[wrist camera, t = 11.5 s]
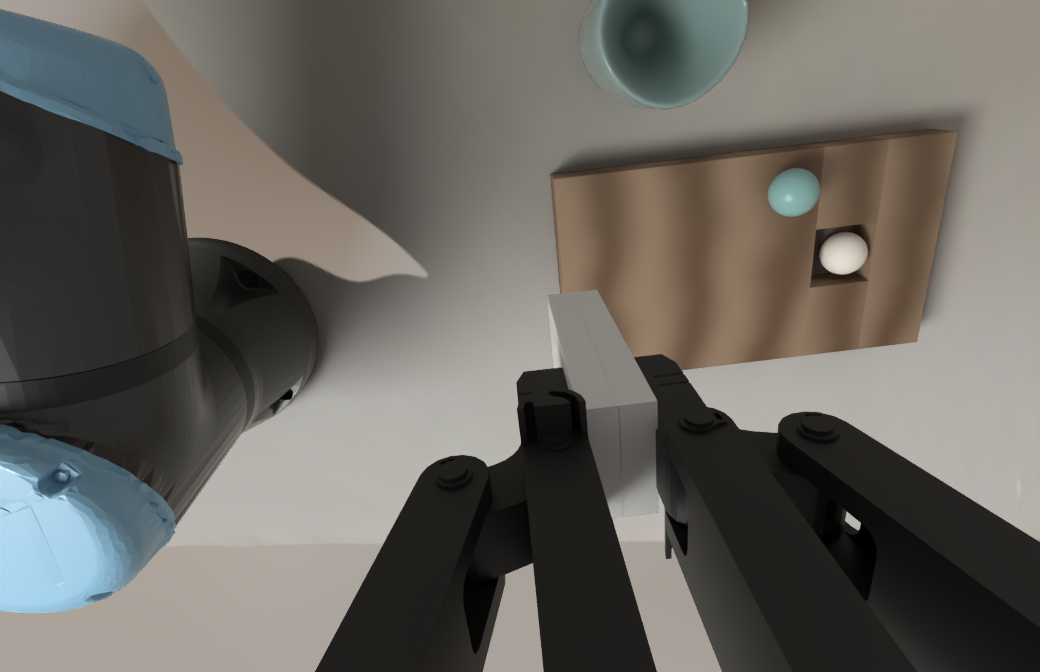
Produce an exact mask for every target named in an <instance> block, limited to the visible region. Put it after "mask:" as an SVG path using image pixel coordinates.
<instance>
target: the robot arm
mask: <svg viewBox="0 0 1040 672" xmlns="http://www.w3.org/2000/svg"><path fill="white" fill-rule="evenodd" d="M182 164H183V160H182V156H181V154H180V153H179V151H177V150H176V147H175V141H174V135H173V130H172V124H171V117H170V112H169V106H168V100H167V94H166V90H165V87H164V84H163V81H162V79H161V77H160V75H159V74H158V72H157V71H156V70H155V68H154V67H153V66H152V65H151V64H150V63H149V62H148V61H147V60H146V59H145V58H144V57H142V56H141V55H140V54H138V53H137V52H135V51H134V50H132V49H130V48H129V47H126V46H124V45H122V44H120V43H117V42H114V41H111V40H108V39H105V38H102V37H99V36H96V35H93V34H89V33H86V32H83V31H80V30H76V29H73V28H69V27H65V26H62V25H58V24H55V23H51V22H47V21H44V20H40V19H36V18H33V17H29V16H25V15H21V14H18V13H13V12H10V11H6V10H2V9H0V611H7V612H18V613H51V612H60V611H67V610H72V609H76V608H81V607H85V606H88V605H90V604H93V603H96V602H99V601H101V600H103V599H106V598H107V597H109V596H111V595H112V594H113V593H114V592H116V591H118V590H120V589H121V588H122V587H124V586H126V585H127V584H128V583H129V582H131V581H132V580H133V579H134V578H135V577H136V576H137V574H138V573H139V572H140V571H141V570H142V569H143V567H144V566H145V565H146V564H147V563H148V562H149V561H150V560H151V559H152V557H153V556H154V555H155V554H156V553H157V552H158V551H159V550H160V549H162V548H163V547H164V546H165V545H166V544H167V543H168V542H169V541H170V539H171V537H172V535H173V534H174V533H175V531H174V529H175V528H176V525H177V524H178V522H179V521H180V520H181V518H182V517H183V515H184V514H185V513H186V511H187V510H188V508H189V507H190V506H191V504H192V503H193V501H194V500H195V498H196V497H197V496H198V494H199V493H200V491H201V490H202V489H203V487H204V486H205V484H206V483H207V482H208V480H209V479H210V477H211V476H212V475H213V473H214V472H215V470H216V469H217V467H218V466H219V465H220V463H221V462H222V460H223V459H224V458H225V456H226V455H227V453H228V452H229V451H230V449H231V448H232V446H233V445H234V444H235V442H236V441H237V439H238V438H239V436H240V435H241V434H242V433H243V432H245V431H247V430H249V429H251V428H253V427H255V426H257V425H258V424H260V423H262V422H264V421H266V420H268V419H270V418H271V417H273V416H275V415H276V414H278V413H279V412H281V411H282V410H283V409H285V408H286V407H287V406H288V405H289V404H290V403H291V402H292V401H293V400H294V399H295V398H296V397H297V395H298V394H299V392H300V391H301V389H302V388H303V386H304V385H305V383H306V381H307V380H308V378H309V377H310V375H311V373H312V370H313V368H314V365H315V362H316V358H317V351H318V334H317V327H316V323H315V319H314V316H313V313H312V311H311V308H310V306H309V304H308V302H307V300H306V299H305V297H304V295H303V294H302V292H301V291H300V289H299V288H298V287H297V285H296V284H295V283H294V282H293V281H292V280H291V278H290V277H289V276H288V275H287V274H286V273H285V272H284V271H282V270H281V269H280V268H279V267H278V266H276V265H275V264H274V263H272V262H271V261H270V260H268V259H267V258H265V257H263V256H262V255H260V254H258V253H256V252H254V251H252V250H250V249H248V248H246V247H243V246H241V245H238V244H235V243H231V242H228V241H223V240H218V239H211V238H187V230H186V221H185V213H184V203H183V194H182V186H181V177H180V167H179V165H182ZM547 301H548V312H549V322H550V333H551V344H552V354H553V365H554V368H552V369H544V370H536V371H527V372H523V374H522V375H521V377H520V378H519V380H518V381H517V393H518V408H517V413H518V420H519V428H520V436H521V445H520V447H519V449H518V450H517V451H516V452H515V453H514V454H513V455H512V456H511V457H509V458H508V459H506V460H505V461H502V462H500V463H498V464H496V465H493V466H490V467H487V466H486V464H485V463H484V461H482V460H480V459H478V458H476V457H472V456H466V455H459V456H450V457H447V458H444V459H441V460H438V461H436V462H435V463H433V464H431V465H430V466H428V467H427V468H426V469H425V470H424V472H423V473H422V474H421V475H420V477H419V479H418V481H417V482H416V484H415V486H414V488H413V490H412V492H411V494H410V496H409V497H408V499H407V501H406V503H405V505H404V507H403V509H402V510H401V512H400V514H399V516H398V518H397V520H396V522H395V524H394V525H393V527H392V529H391V531H390V533H389V535H388V537H387V538H386V540H385V542H384V544H383V546H382V548H381V550H380V552H379V553H378V555H377V557H376V559H375V561H374V563H373V565H372V566H371V568H370V570H369V572H368V574H367V576H366V578H365V580H364V581H363V583H362V585H361V587H360V589H359V591H358V593H357V595H356V596H355V598H354V600H353V602H352V604H351V606H350V607H349V609H348V611H347V613H346V615H345V617H344V619H343V621H342V622H341V624H340V626H339V628H338V630H337V632H336V634H335V635H334V637H333V639H332V641H331V643H330V645H329V647H328V649H327V650H326V652H325V654H324V656H323V658H322V660H321V662H320V663H319V665H318V667H317V669H316V671H315V672H483V668H484V664H485V660H486V656H487V652H488V648H489V644H490V640H491V636H492V632H493V629H494V625H495V621H496V617H497V613H498V609H499V605H500V601H501V597H502V593H503V590H504V586H505V574H507V573H510V572H512V571H514V570H517V569H519V568H522V567H524V566H527V565H529V564H531V563H533V566H534V576H535V586H536V596H537V606H538V617H539V627H540V636H541V648H542V658H543V667H544V672H657V671H656V668H655V664H654V661H653V657H652V654H651V651H650V647H649V644H648V640H647V637H646V633H645V630H644V626H643V623H642V620H641V616H640V613H639V610H638V606H637V602H636V599H635V596H634V592H633V589H632V586H631V582H630V579H629V575H628V572H627V568H626V565H625V561H624V558H623V555H622V551H621V548H620V544H619V541H618V537H617V534H616V531H615V527H614V524H613V520H612V518H619V517H628V516H636V515H644V514H653V513H659V499H658V493H659V495H660V497H661V500H662V502H663V504H664V507H665V555H666V559H670V558H671V549H672V547H673V549H674V552H675V555H676V557H677V559H678V562H679V565H680V567H681V570H682V572H683V574H684V577H685V580H686V582H687V585H688V587H689V590H690V592H691V595H692V597H693V599H694V602H695V604H696V607H697V610H698V612H699V615H700V617H701V619H702V622H703V624H704V627H705V629H706V632H707V635H708V637H709V640H710V642H711V645H712V647H713V650H714V652H715V655H716V657H717V660H718V662H719V665H720V667H721V670H722V672H1040V542H1039V541H1037V540H1035V539H1034V538H1032V537H1031V536H1029V535H1027V534H1026V533H1024V532H1023V531H1021V530H1019V529H1018V528H1016V527H1015V526H1013V525H1011V524H1010V523H1008V522H1006V521H1005V520H1003V519H1002V518H1000V517H998V516H997V515H995V514H994V513H992V512H990V511H989V510H987V509H986V508H984V507H982V506H981V505H979V504H978V503H976V502H974V501H973V500H971V499H969V498H968V497H966V496H965V495H963V494H961V493H960V492H958V491H957V490H955V489H953V488H952V487H950V486H949V485H947V484H945V483H944V482H942V481H941V480H939V479H937V478H936V477H934V476H932V475H931V474H929V473H928V472H926V471H924V470H923V469H921V468H920V467H918V466H916V465H915V464H913V463H912V462H910V461H908V460H907V459H905V458H904V457H902V456H900V455H899V454H897V453H895V452H894V451H892V450H891V449H889V448H887V447H886V446H884V445H883V444H881V443H879V442H878V441H876V440H875V439H873V438H871V437H870V436H868V435H867V434H865V433H863V432H862V431H860V430H858V429H857V428H855V427H854V426H852V425H850V424H849V423H847V422H845V421H843V420H841V419H839V418H837V417H834V416H831V415H827V414H823V413H819V412H800V413H793V414H790V415H788V416H786V417H784V418H782V420H781V421H780V423H779V424H778V433H768V432H754V431H747V430H741V429H739V428H738V427H737V426H736V424H735V423H734V421H733V420H732V419H731V418H730V417H729V416H728V415H726V414H725V413H724V412H721V411H719V410H716V409H714V408H709V407H706V405H705V404H704V402H703V401H702V399H701V398H700V396H699V395H698V394H697V392H696V391H695V389H694V388H693V386H692V385H691V383H689V381H688V379H687V378H686V376H685V375H684V374H683V372H682V370H681V369H680V367H679V366H678V365H677V363H676V362H675V361H673V360H671V359H669V358H668V357H666V356H664V355H662V354H657V355H649V356H640V357H633V355H632V353H631V351H630V350H629V348H628V346H627V344H626V342H625V340H624V339H623V337H622V335H621V333H620V331H619V329H618V327H617V326H616V324H615V322H614V320H613V318H612V316H611V315H610V313H609V311H608V309H607V307H606V305H605V304H604V302H603V300H602V298H601V296H600V294H599V293H598V291H597V290H589V291H581V292H573V293H564V294H556V295H548V296H547ZM846 511H847V512H848V513H850V514H851V515H852V516H853V517H855V518H856V519H857V520H858V521H860V522H861V526H860V530H859V531H858V530H856V529H855V528H853V527H852V526H850V525H849V524H848V523H847V522H845V517H846Z"/></svg>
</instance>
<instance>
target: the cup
mask: <svg viewBox="0 0 1040 672" xmlns="http://www.w3.org/2000/svg"><path fill="white" fill-rule="evenodd" d="M748 22H749V5H748V0H591V1H590V4H589V6H588V8H587V10H586V12H585V14H584V17H583V21H582V24H581V28H580V38H579V45H580V53H581V57H582V60H583V63H584V66H585V68H586V69H587V71H588V73H589V75H590V77H591V78H592V79H593V80H594V82H595V83H596V84H597V85H598V86H599V87H600V88H601V89H602V90H603V91H604V92H605V93H607V94H608V95H609V96H611V97H613V98H614V99H616V100H618V101H620V102H622V103H625V104H628V105H631V106H634V107H639V108H646V109H660V110H667V109H672V108H677V107H682V106H684V105H687V104H689V103H691V102H693V101H696V100H697V99H698V98H700V97H701V96H703V95H704V94H706V93H707V92H709V91H710V90H711V89H712V88H713V87H714V86H715V85H716V84H717V83H718V82H720V81H721V79H722V78H723V77H724V76H725V74H726V73H727V72H728V71H729V69H730V68H731V67H732V65H733V63H734V62H735V60H736V58H737V56H738V55H739V53H740V51H741V48H742V45H743V43H744V40H745V38H746V33H747V28H748Z"/></svg>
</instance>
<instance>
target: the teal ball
mask: <svg viewBox="0 0 1040 672" xmlns="http://www.w3.org/2000/svg"><path fill="white" fill-rule="evenodd" d="M819 195H820V184H819V181H818V179H817V178H816V176H815V175H814V174H813V173H811V172H810V171H808V170H805V169H802V168H792V169H788V170H785V171H783V172H781V173H780V174H778V175H777V176H776V177H775V178H774V179H773V181H772V182H771V184H770V186H769V190H768V200H769V203H770V205H771V207H772V208H773V209H774V210H775V211H776V212H777V213H779V214H781V215H783V216H788V217H795V216H799V215H802V214H804V213H806V212H808V211H809V210H811V209H812V208H813V207H814V205H815V204H816V202H817V201H818V198H819Z"/></svg>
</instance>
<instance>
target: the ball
mask: <svg viewBox="0 0 1040 672" xmlns="http://www.w3.org/2000/svg"><path fill="white" fill-rule="evenodd" d="M867 255H868V248H867V245H866V243H865V241H864V240H863V239H862V238H861V237H860V236H858V235H857V234H854V233H851V232H840V233H836V234H834V235H832V236H830V237H829V238H827V239H826V240H825V241H824V243H823V244H822V246H821V248H820V252H819V257H820V261H821V263H822V265H823V266H824V267H825V268H826V269H827V270H828V271H830V272H832V273H835V274H849V273H852V272H854V271H856V270H858V269H859V268H860V267H861V266H862V265H863V264H864V263H865V261H866V259H867Z"/></svg>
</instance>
